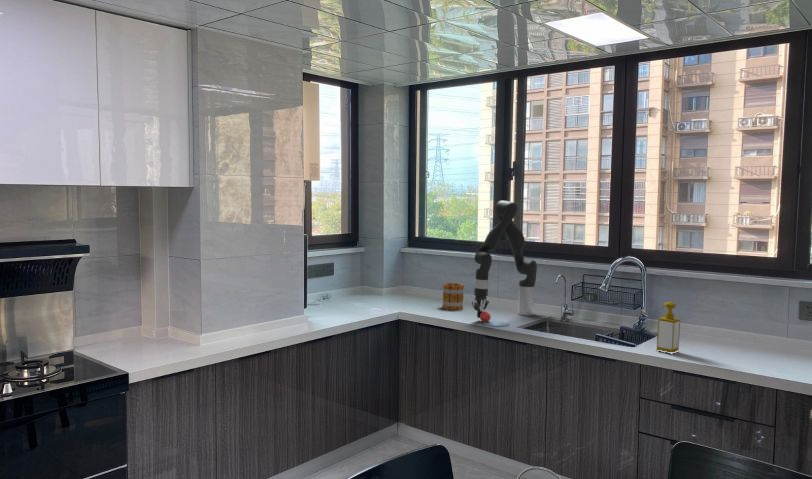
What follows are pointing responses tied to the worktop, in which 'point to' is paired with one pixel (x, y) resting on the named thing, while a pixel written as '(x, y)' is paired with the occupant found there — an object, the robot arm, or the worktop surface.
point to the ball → (485, 316)
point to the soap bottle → (668, 330)
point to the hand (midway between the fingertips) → (479, 317)
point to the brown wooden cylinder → (452, 296)
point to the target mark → (496, 323)
